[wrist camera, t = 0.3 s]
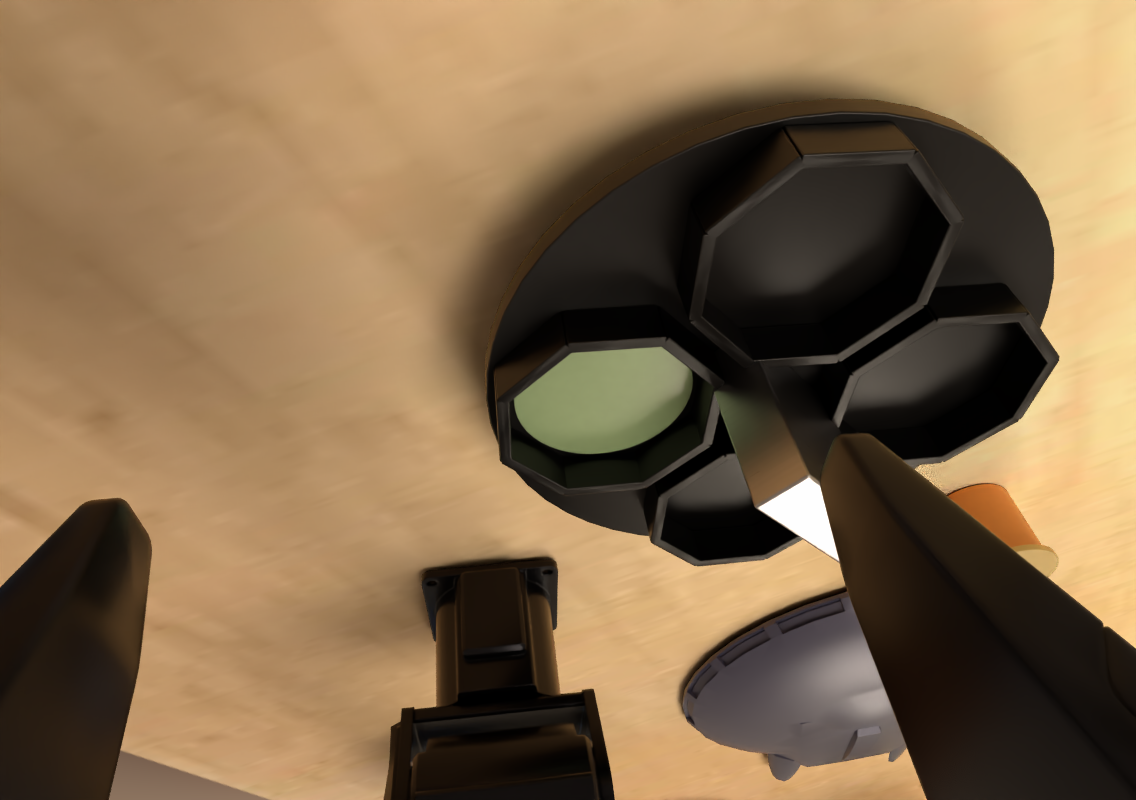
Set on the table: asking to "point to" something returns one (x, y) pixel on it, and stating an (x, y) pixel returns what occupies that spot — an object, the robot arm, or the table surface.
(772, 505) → the cup holder
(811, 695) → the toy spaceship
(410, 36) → the table surface
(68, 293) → the table surface
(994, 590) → the robot arm
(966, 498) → the coffee pod
